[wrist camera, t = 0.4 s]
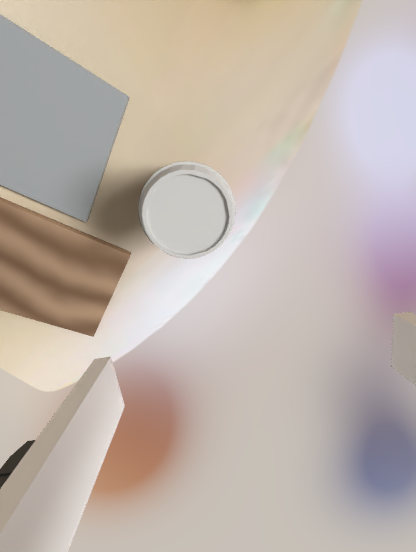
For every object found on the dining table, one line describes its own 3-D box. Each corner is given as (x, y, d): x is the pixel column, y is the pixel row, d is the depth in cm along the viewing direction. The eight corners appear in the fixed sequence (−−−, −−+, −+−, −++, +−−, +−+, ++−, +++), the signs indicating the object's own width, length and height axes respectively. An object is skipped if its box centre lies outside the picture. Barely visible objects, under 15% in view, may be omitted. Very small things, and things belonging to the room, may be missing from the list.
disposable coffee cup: (193, 133, 30) (201, 138, 20) (232, 198, 35) (255, 228, 24) (133, 181, 32) (113, 206, 22) (178, 236, 37) (179, 278, 26)
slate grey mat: (-44, -14, 22) (-51, -18, 21) (129, 97, 27) (128, 96, 27) (-54, 158, 29) (-60, 159, 28) (87, 220, 34) (85, 222, 33)
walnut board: (-7, 194, 31) (-12, 196, 30) (131, 252, 37) (130, 255, 36) (-23, 298, 38) (-27, 302, 38) (94, 332, 44) (93, 336, 44)
